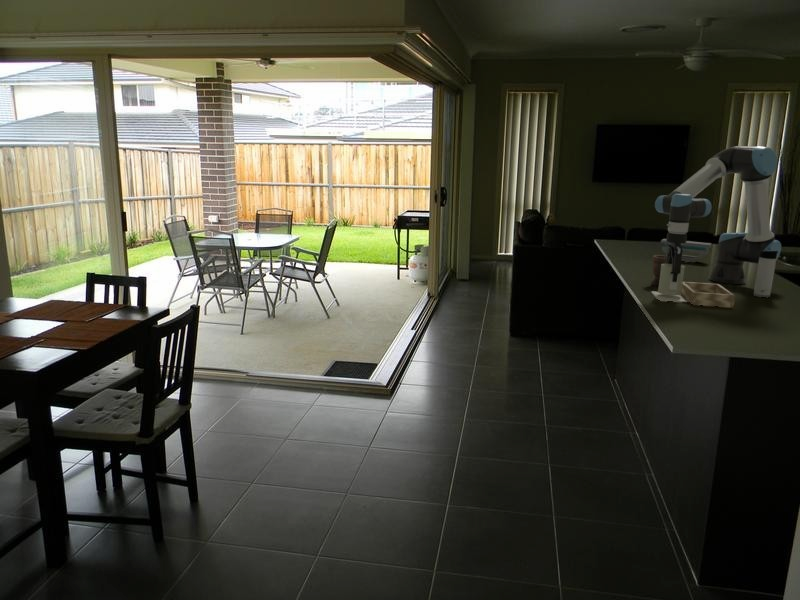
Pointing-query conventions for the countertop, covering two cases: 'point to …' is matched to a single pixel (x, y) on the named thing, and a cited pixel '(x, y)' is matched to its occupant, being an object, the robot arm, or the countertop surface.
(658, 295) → the mat
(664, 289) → the can
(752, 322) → the countertop surface
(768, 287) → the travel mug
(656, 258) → the mortar and pestle
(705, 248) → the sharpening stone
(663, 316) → the countertop surface
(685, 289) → the wooden frame
